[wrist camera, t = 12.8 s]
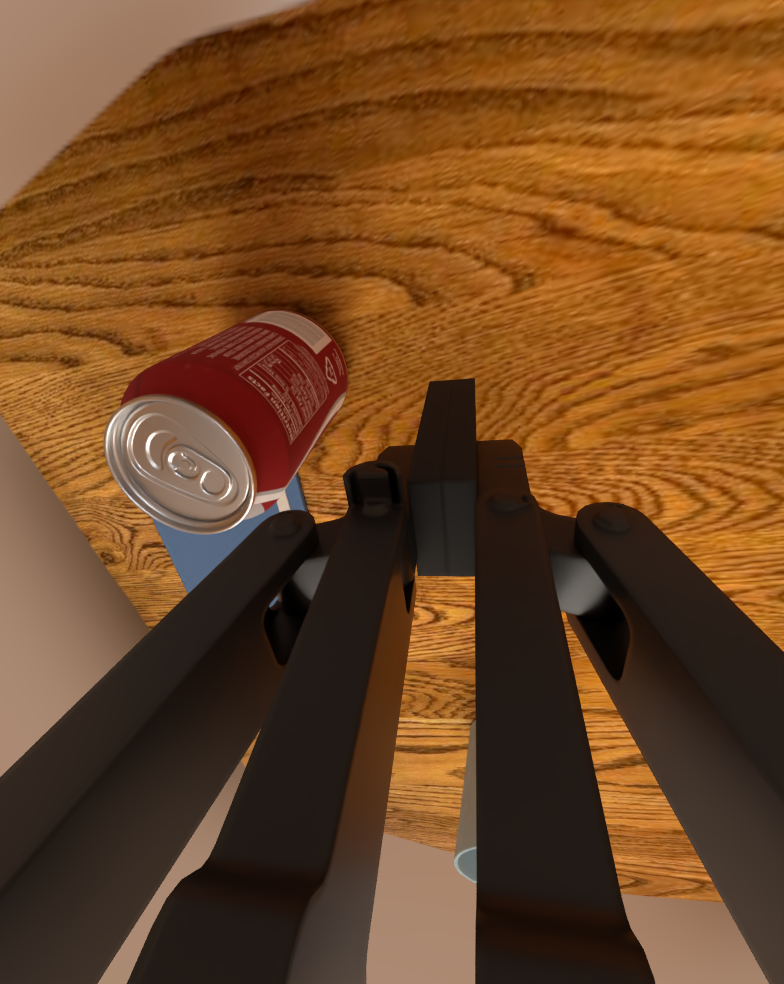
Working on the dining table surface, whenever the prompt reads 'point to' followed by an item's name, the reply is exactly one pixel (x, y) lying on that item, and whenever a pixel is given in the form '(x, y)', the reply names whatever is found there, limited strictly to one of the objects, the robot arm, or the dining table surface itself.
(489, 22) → the dining table surface
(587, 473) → the dining table surface
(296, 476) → the cloth
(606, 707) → the dining table surface
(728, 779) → the robot arm
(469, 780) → the cup
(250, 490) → the soda can
